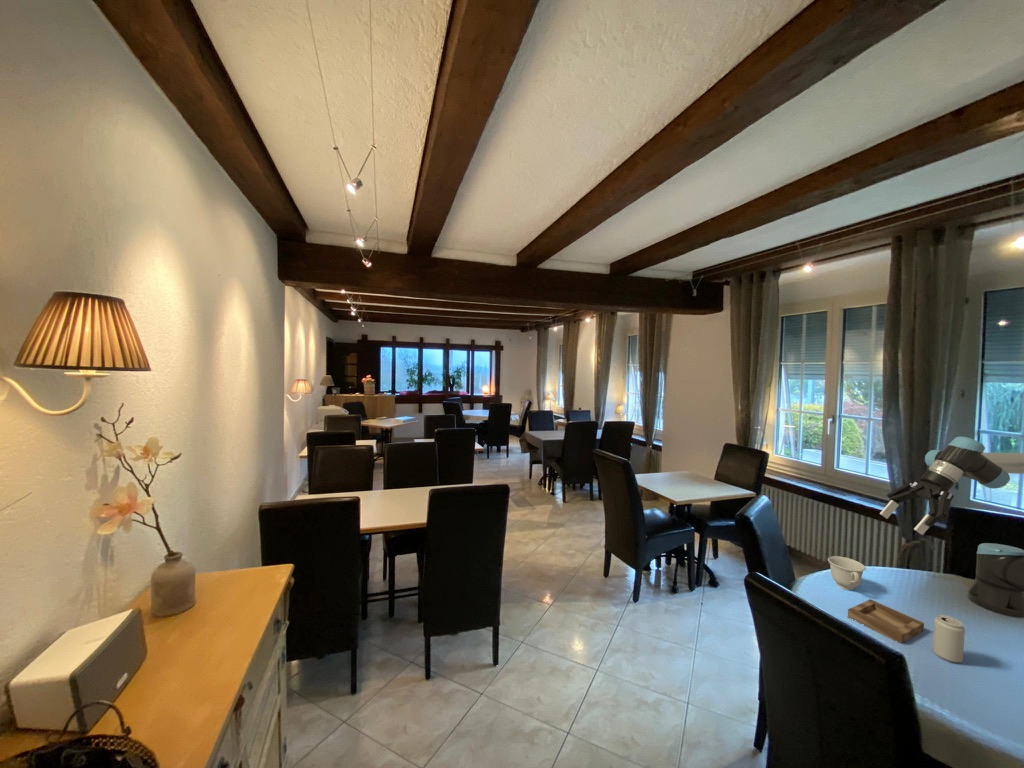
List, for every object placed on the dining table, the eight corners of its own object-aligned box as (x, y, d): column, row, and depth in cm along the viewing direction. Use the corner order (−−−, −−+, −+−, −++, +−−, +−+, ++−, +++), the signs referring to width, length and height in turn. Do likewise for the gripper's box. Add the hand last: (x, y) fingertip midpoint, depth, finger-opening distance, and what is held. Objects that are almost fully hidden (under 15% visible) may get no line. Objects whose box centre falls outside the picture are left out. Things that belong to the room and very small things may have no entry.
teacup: (838, 596, 157) (839, 571, 157) (821, 576, 172) (822, 554, 171) (875, 601, 154) (876, 576, 153) (855, 581, 168) (856, 558, 167)
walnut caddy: (869, 606, 150) (870, 599, 150) (923, 631, 137) (924, 622, 137) (847, 617, 144) (848, 609, 144) (901, 644, 131) (901, 635, 130)
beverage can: (930, 646, 130) (933, 611, 129) (960, 655, 125) (962, 619, 125) (934, 657, 125) (936, 621, 124) (965, 667, 121) (967, 629, 120)
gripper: (899, 460, 150) (862, 504, 152) (970, 480, 125) (925, 532, 127) (916, 472, 150) (878, 516, 152) (990, 494, 125) (944, 546, 127)
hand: (899, 523), depth 140 cm, fingers open, 13 cm apart
